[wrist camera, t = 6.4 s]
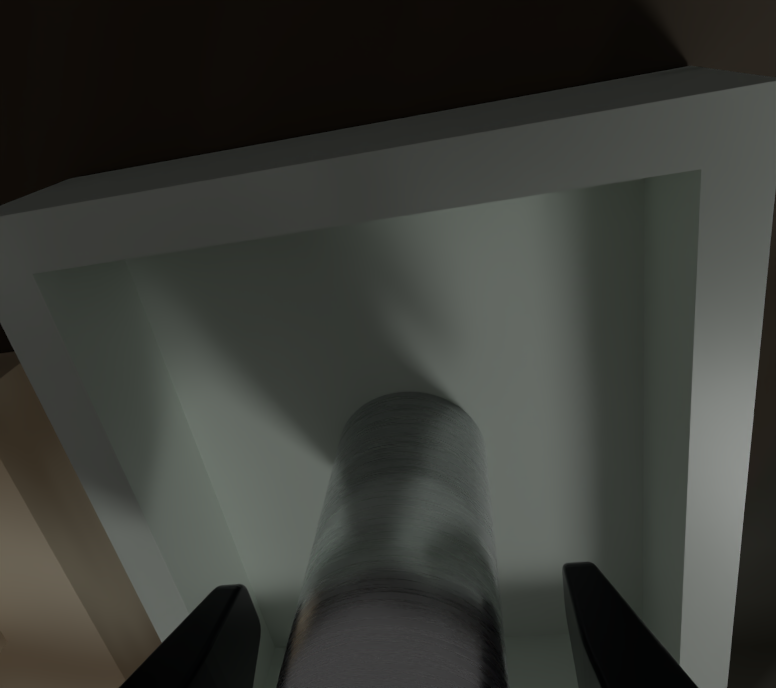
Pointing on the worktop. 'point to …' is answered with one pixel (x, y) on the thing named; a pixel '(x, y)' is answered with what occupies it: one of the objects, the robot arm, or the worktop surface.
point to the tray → (423, 345)
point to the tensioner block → (57, 562)
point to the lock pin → (402, 558)
